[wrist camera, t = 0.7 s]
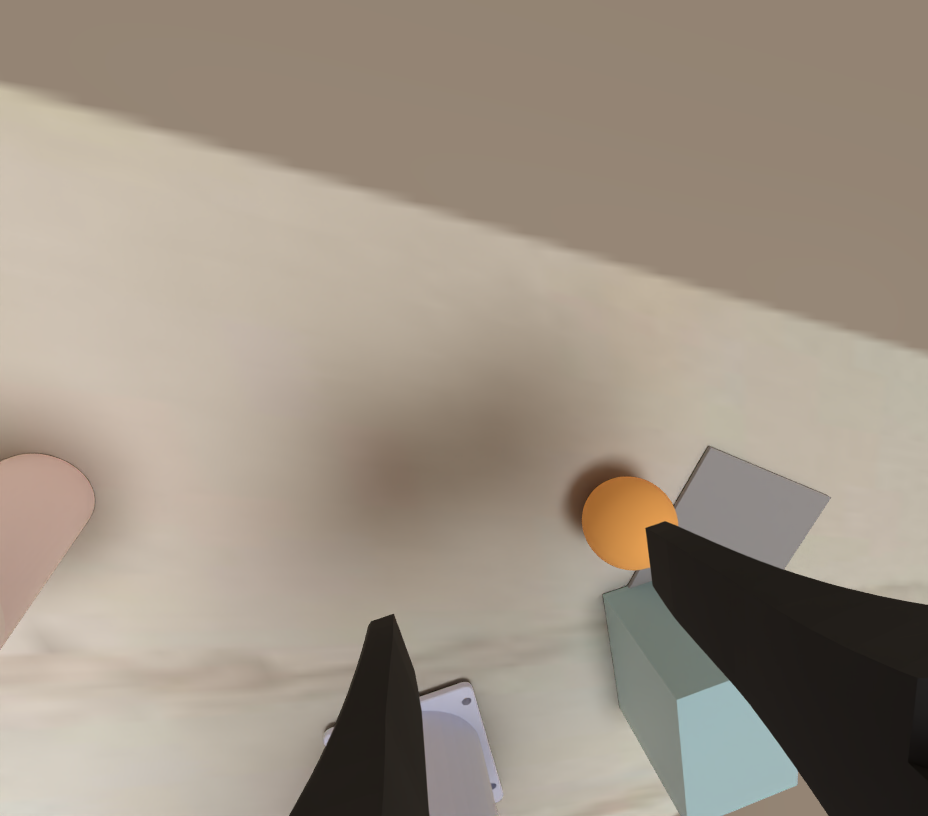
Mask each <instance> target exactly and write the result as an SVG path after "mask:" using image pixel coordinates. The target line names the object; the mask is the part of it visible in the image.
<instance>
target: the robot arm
mask: <svg viewBox="0 0 928 816" xmlns="http://www.w3.org/2000/svg"><path fill="white" fill-rule="evenodd" d="M645 529H646V537H647V545H648V553H649V561H650V569H651V577H652V585H653V587H654V589H655V590H656V592H657V593H658V595H659V596H660V598H661V599H662V601H663V602H664V604H665V605H666V607H667V608H668V610H669V611H670V612H671V614H672V615H673V617H674V618H675V619H676V620H677V622H678V623H679V624H680V625H681V626H682V627H683V629H684V630H685V631H686V632H687V633H688V634H689V635H690V637H691V638H692V639H693V640H694V641H695V642H696V643H697V645H698V646H699V647H700V648H701V649H702V650H703V651H704V652H705V654H706V655H707V656H708V657H709V658H710V659H711V660H712V661H713V663H714V664H715V665H716V666H717V667H718V668H719V669H720V670H721V672H722V673H723V674H724V675H725V676H726V677H727V678H728V679H729V681H730V682H731V683H732V684H733V685H734V686H735V687H736V689H737V690H738V691H739V692H740V693H741V695H742V696H743V697H744V698H745V699H746V701H747V702H748V703H749V704H750V706H751V707H752V708H753V710H754V711H755V712H756V714H757V715H758V716H759V718H760V719H761V720H762V722H763V723H764V725H765V726H766V727H767V729H768V730H769V731H770V733H771V734H772V735H773V737H774V738H775V739H776V741H777V742H778V744H779V745H780V746H781V748H782V749H783V751H784V752H785V753H786V755H787V756H788V758H789V759H790V760H791V762H792V763H793V765H794V766H795V767H796V769H797V770H798V772H799V773H800V774H801V776H802V777H803V779H804V780H805V781H806V783H807V784H808V786H809V787H810V789H811V790H812V792H813V793H814V795H815V796H816V798H817V799H818V800H819V802H820V804H821V805H822V807H823V808H824V809H825V811H826V813H827V814H828V815H829V816H928V605H925V604H919V603H913V602H907V601H902V600H897V599H892V598H887V597H882V596H877V595H873V594H869V593H865V592H860V591H856V590H852V589H847V588H844V587H840V586H836V585H832V584H829V583H825V582H822V581H819V580H815V579H812V578H808V577H805V576H802V575H799V574H795V573H792V572H789V571H786V570H784V569H781V568H778V567H775V566H773V565H770V564H767V563H764V562H761V561H759V560H756V559H754V558H751V557H749V556H746V555H744V554H741V553H739V552H736V551H734V550H731V549H729V548H727V547H724V546H722V545H720V544H717V543H715V542H713V541H710V540H708V539H706V538H704V537H701V536H699V535H697V534H694V533H692V532H690V531H688V530H685V529H683V528H681V527H679V526H676V525H674V524H671V523H669V522H666V521H664V522H661V523H658V524H655V525H652V526H649V527H646V528H645ZM464 698H466V699H464ZM323 741H324V744H325V749H324V751H323V753H322V755H321V757H320V759H319V761H318V763H317V765H316V767H315V769H314V771H313V773H312V775H311V777H310V779H309V781H308V782H307V784H306V786H305V788H304V790H303V792H302V793H301V795H300V797H299V799H298V801H297V803H296V804H295V806H294V808H293V810H292V811H291V813H290V815H289V816H498V812H497V808H496V804H495V803H497V802H499V801H500V800H501V799H502V797H503V791H502V787H501V783H500V780H499V777H498V773H497V770H496V766H495V763H494V759H493V756H492V752H491V749H490V746H489V742H488V739H487V735H486V732H485V728H484V725H483V722H482V718H481V715H480V711H479V708H478V704H477V701H476V697H475V694H474V691H473V687H472V685H471V684H470V683H469V682H461V683H458V684H455V685H452V686H449V687H446V688H443V689H441V690H438V691H435V692H432V693H429V694H426V695H423V696H420V697H419V692H418V687H417V681H416V676H415V671H414V668H413V665H412V663H411V660H410V657H409V654H408V652H407V649H406V646H405V643H404V641H403V638H402V635H401V632H400V630H399V627H398V624H397V621H396V619H395V616H394V614H392V615H389V616H386V617H383V618H380V619H377V620H374V621H371V622H370V624H369V626H368V629H367V633H366V637H365V641H364V644H363V648H362V651H361V655H360V658H359V661H358V664H357V668H356V671H355V674H354V676H353V679H352V682H351V685H350V688H349V691H348V694H347V696H346V699H345V702H344V704H343V707H342V709H341V711H340V714H339V716H338V719H337V721H336V724H335V726H334V727H331V728H329V729H327V730H326V731H325V733H324V740H323Z"/></svg>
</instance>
